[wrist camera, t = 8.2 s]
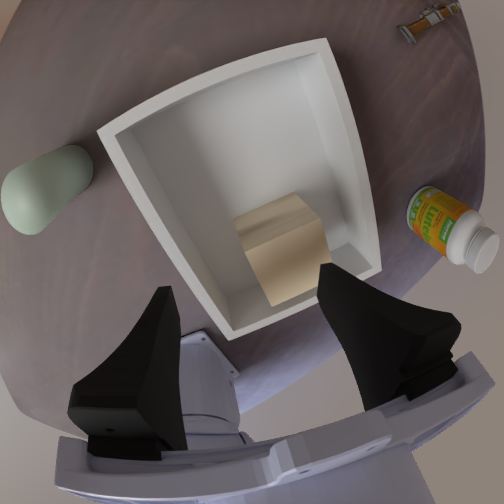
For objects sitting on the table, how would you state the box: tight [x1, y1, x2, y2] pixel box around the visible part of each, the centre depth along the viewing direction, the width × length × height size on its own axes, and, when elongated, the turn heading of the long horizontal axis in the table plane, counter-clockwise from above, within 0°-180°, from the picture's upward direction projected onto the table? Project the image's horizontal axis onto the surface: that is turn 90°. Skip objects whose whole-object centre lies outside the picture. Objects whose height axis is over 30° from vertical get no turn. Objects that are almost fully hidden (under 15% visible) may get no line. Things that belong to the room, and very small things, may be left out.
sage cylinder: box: [1, 145, 93, 235], centre depth 14 cm, size 4×4×7 cm
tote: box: [97, 38, 382, 341], centre depth 18 cm, size 18×14×5 cm
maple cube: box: [233, 192, 333, 307], centre depth 20 cm, size 5×5×5 cm
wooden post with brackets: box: [397, 2, 461, 44], centre depth 13 cm, size 2×8×4 cm, turn 139°
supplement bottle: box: [407, 186, 499, 274], centre depth 20 cm, size 5×5×10 cm
